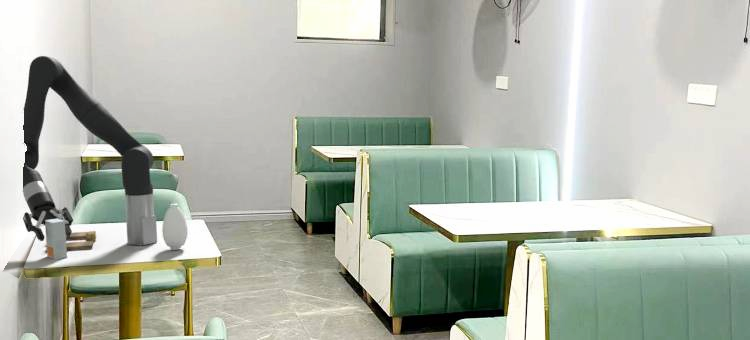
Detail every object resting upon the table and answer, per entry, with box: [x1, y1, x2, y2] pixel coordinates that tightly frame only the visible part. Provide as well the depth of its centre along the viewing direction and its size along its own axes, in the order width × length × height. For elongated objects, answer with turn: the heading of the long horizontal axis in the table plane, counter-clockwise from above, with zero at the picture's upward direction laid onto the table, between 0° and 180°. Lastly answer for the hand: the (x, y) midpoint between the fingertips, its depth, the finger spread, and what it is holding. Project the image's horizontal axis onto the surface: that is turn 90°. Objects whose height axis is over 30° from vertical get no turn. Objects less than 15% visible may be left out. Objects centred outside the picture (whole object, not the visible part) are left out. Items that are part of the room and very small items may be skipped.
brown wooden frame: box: [66, 230, 97, 252], centre depth 257 cm, size 14×24×3 cm, turn 18°
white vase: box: [161, 195, 188, 251], centre depth 245 cm, size 8×8×18 cm
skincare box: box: [44, 218, 68, 260], centre depth 236 cm, size 6×4×12 cm
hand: (56, 237), depth 236 cm, fingers open, 8 cm apart
